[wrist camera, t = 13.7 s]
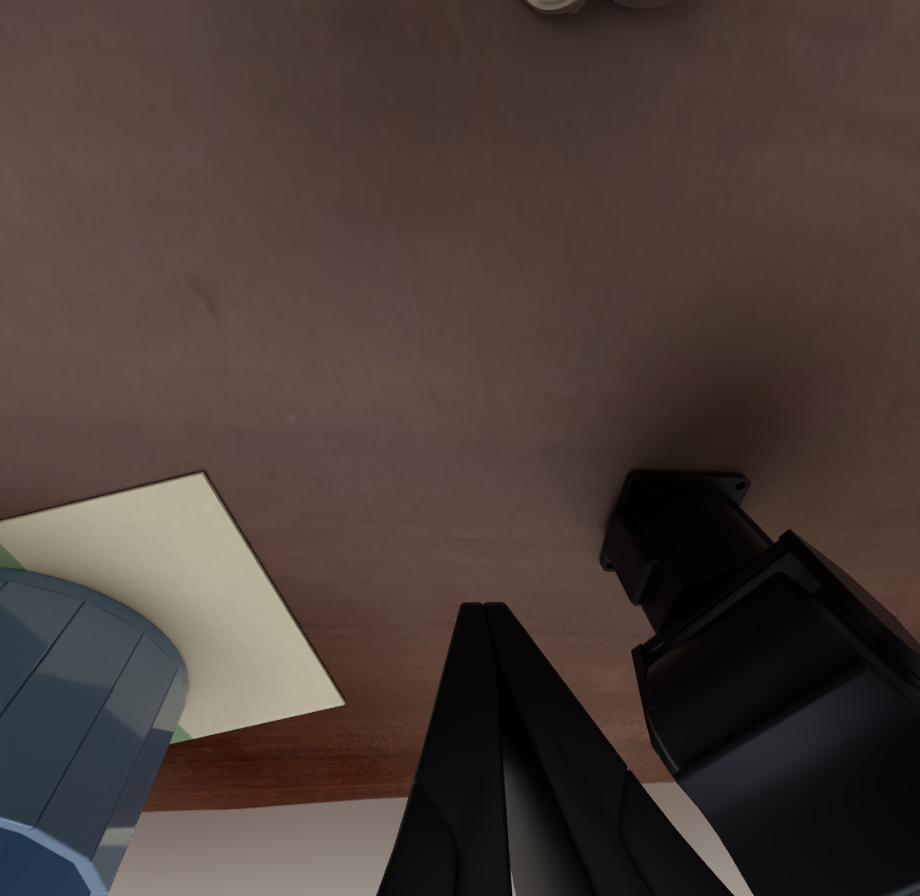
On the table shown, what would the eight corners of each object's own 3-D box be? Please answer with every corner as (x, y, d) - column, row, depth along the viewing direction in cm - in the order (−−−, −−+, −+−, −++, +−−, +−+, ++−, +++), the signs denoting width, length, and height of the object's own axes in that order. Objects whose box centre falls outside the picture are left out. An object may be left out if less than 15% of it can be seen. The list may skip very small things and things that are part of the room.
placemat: (203, 471, 22) (201, 473, 22) (345, 701, 32) (345, 704, 31) (-215, 572, 22) (-219, 575, 22) (52, 767, 32) (50, 770, 32)
